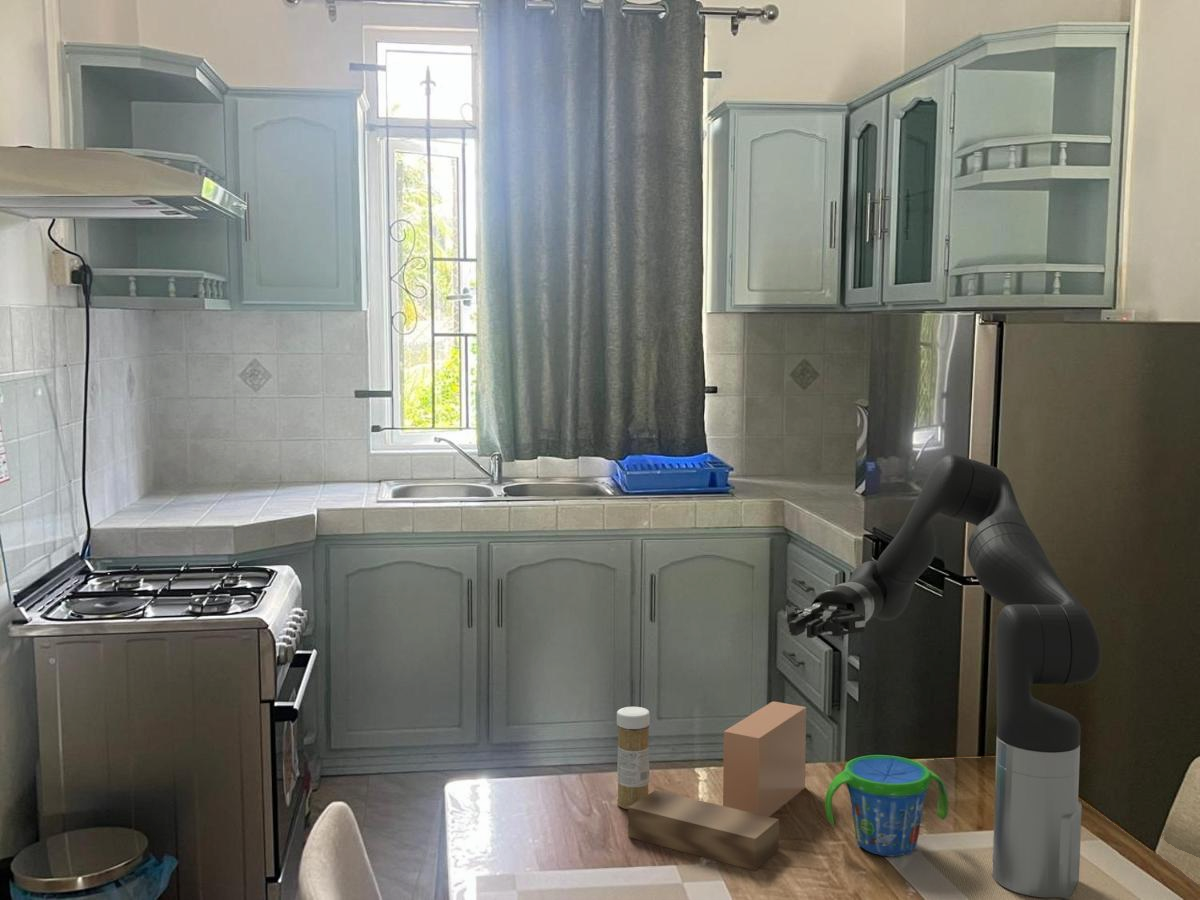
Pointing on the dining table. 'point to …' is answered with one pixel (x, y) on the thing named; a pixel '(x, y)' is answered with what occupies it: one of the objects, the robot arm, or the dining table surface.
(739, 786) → the block
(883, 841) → the snack cup
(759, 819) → the brown wooden bar
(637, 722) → the sprinkles bottle
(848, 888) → the dining table surface
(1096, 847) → the dining table surface
